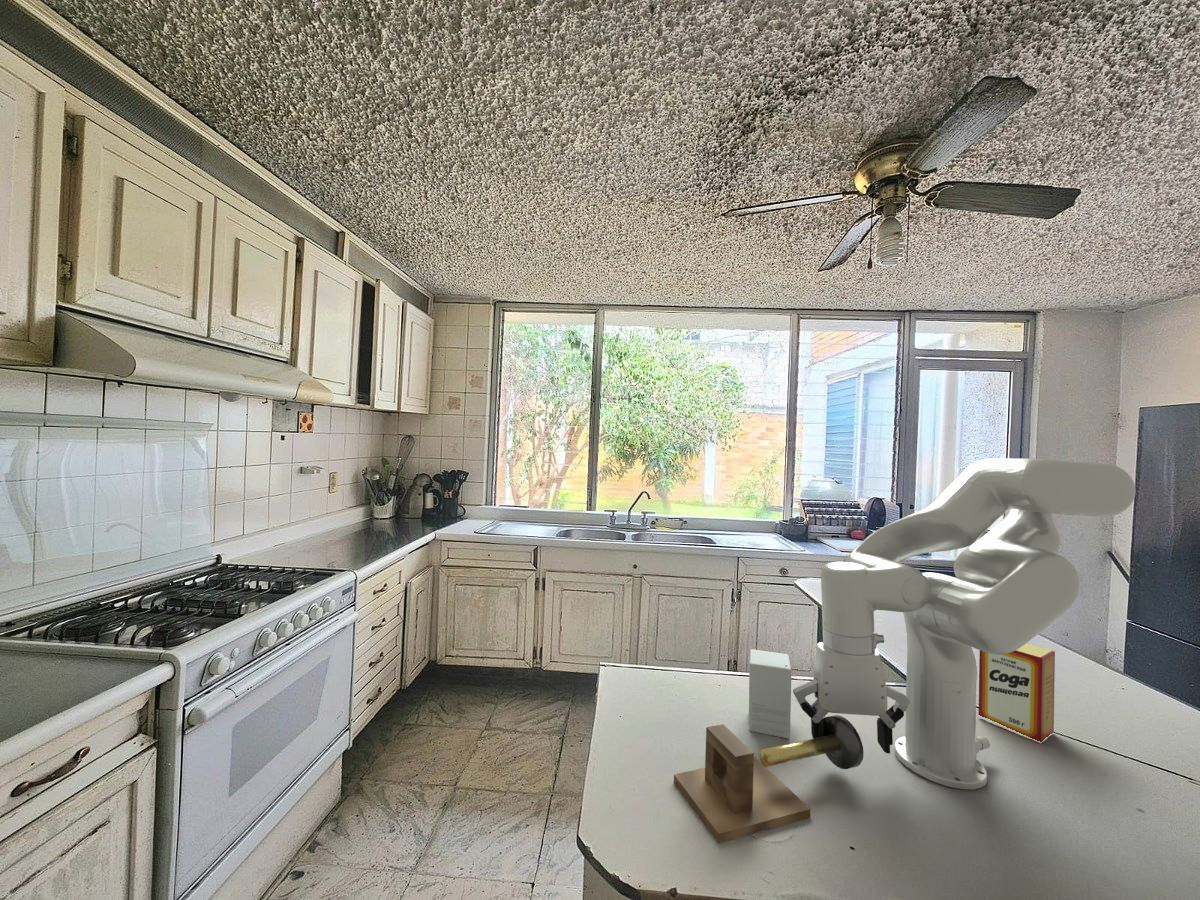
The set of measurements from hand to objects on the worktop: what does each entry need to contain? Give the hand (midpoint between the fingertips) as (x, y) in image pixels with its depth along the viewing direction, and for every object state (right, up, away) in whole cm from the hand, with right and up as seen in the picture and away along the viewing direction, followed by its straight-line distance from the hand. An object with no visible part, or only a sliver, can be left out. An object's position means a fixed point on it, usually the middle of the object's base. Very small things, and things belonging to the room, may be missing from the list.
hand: (851, 745), depth 77 cm
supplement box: (-9, -4, +13) cm, 16 cm away
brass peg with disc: (-9, -2, -3) cm, 9 cm away
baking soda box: (+40, -6, +15) cm, 43 cm away
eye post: (-20, -3, -7) cm, 22 cm away
